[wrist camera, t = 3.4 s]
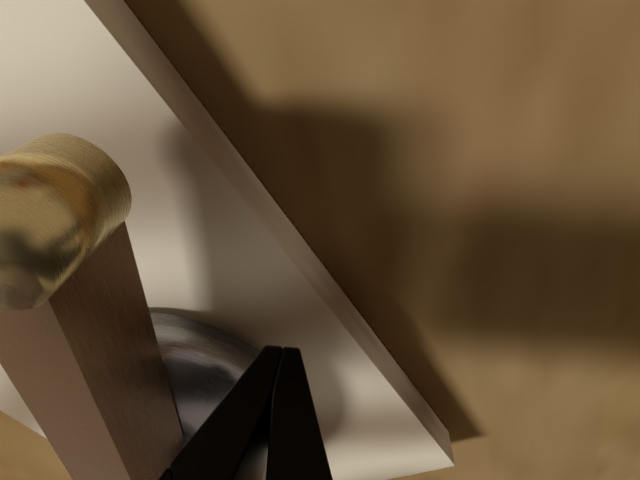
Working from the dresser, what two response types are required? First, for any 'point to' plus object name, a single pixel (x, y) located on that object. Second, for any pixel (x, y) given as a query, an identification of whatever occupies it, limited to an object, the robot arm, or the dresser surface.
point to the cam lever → (97, 320)
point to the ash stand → (207, 226)
